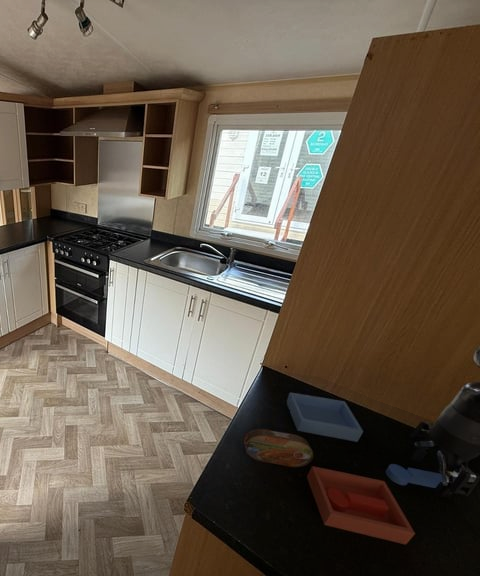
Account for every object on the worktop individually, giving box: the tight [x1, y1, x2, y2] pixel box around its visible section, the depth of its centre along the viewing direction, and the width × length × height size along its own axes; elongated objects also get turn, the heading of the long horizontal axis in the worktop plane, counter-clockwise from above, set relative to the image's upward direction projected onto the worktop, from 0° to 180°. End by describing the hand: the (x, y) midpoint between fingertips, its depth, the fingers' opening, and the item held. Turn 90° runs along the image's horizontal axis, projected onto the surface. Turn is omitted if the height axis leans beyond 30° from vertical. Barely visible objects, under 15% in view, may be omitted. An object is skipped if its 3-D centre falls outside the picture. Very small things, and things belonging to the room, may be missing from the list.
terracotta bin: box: [306, 465, 416, 545], centre depth 68 cm, size 15×11×4 cm
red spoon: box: [326, 488, 389, 517], centre depth 68 cm, size 11×4×3 cm, turn 76°
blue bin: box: [286, 392, 364, 443], centre depth 89 cm, size 15×11×4 cm
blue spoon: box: [385, 463, 442, 489], centre depth 73 cm, size 11×4×3 cm, turn 76°
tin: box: [243, 428, 314, 468], centre depth 77 cm, size 15×3×8 cm, turn 76°
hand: (425, 476), depth 73 cm, fingers open, 8 cm apart
